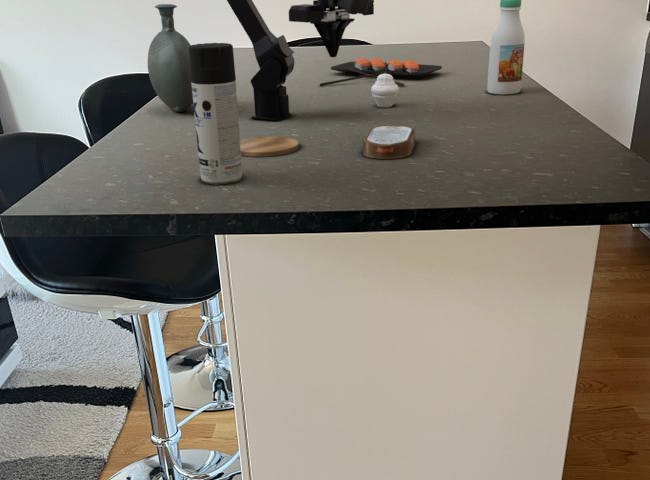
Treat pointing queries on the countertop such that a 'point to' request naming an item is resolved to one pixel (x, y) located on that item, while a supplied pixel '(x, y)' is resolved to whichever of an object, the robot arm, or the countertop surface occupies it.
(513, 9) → the milk bottle
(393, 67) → the sushi plate
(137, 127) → the countertop surface
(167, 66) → the flask
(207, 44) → the spray can
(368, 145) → the tin
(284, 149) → the wooden coaster
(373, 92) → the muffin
